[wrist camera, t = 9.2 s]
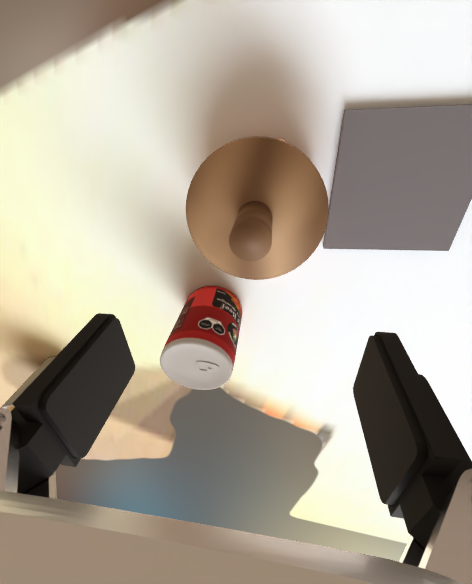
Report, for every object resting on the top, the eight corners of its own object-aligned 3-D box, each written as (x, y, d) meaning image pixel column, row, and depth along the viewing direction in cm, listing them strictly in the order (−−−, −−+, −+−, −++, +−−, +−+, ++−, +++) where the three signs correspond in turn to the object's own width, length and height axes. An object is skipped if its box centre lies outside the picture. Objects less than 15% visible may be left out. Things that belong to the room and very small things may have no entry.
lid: (337, 133, 20) (359, 140, 15) (316, 275, 26) (326, 314, 21) (180, 139, 21) (149, 146, 16) (197, 271, 28) (179, 307, 23)
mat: (508, 102, 22) (513, 102, 22) (445, 248, 29) (448, 250, 29) (344, 110, 24) (345, 109, 23) (323, 246, 31) (323, 248, 30)
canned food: (249, 322, 38) (241, 387, 29) (199, 331, 41) (177, 393, 32) (232, 278, 35) (217, 336, 26) (178, 290, 37) (146, 348, 28)
